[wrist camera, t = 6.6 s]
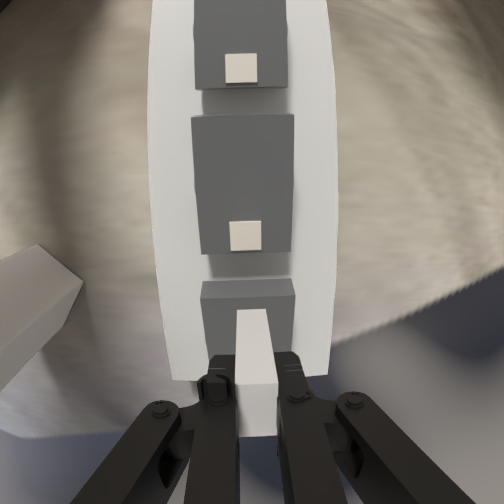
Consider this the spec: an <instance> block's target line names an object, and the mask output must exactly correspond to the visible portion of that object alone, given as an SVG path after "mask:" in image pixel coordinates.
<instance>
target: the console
mask: <svg viewBox="0 0 504 504" xmlns="http://www.w3.org/2000/svg"><path fill="white" fill-rule="evenodd" d="M286 17H287V24H288V36H287V52H288V87H287V88H284V89H279V88H252V89H221V90H204V91H198V90H195V68H194V40H193V23H194V0H153V6H152V17H151V30H150V45H149V65H148V107H147V124H148V168H149V190H150V207H151V221H152V233H153V245H154V255H155V265H156V274H157V283H158V291H159V299H160V306H161V313H162V320H163V327H164V334H165V340H166V346H167V352H168V358H169V364H170V369H171V375H172V380H182V381H198V380H199V378H201V377H202V376H203V375H206V374H207V372H208V365H209V359H208V352H207V346H206V343H205V332H204V325H203V318H202V311H201V304H200V294H201V288H202V282H203V281H226V280H256V279H282V278H291V279H292V283H293V287H294V291H295V294H296V298H295V311H294V324H293V339H292V347H291V351H293V352H294V353H296V354H297V355H298V356H299V358H300V361H301V365H302V368H303V371H304V374H305V377H306V376H317V375H327V373H328V364H329V355H330V345H331V334H332V322H333V309H334V296H335V286H336V268H337V263H336V256H337V228H338V153H337V121H336V101H335V95H336V91H335V77H334V64H333V58H332V47H331V37H330V28H329V19H328V11H327V3H326V0H286ZM227 113H291V114H294V189H293V211H292V238H291V252H269V253H239V254H209V255H201V247H200V237H199V226H198V215H197V204H196V194H195V190H194V164H193V149H192V132H191V117H193V116H195V115H207V114H227Z"/></svg>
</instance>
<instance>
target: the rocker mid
mask: <svg viewBox="0 0 504 504" xmlns="http://www.w3.org/2000/svg"><path fill="white" fill-rule="evenodd" d="M191 132H192V149H193V164H194V190H195V194H196V204H197V215H198V226H199V237H200V247H201V255H209V254H239V253H269V252H291V238H292V211H293V189H294V114H291V113H227V114H207V115H195V116H193V117H191Z"/></svg>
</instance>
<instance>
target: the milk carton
mask: <svg viewBox="0 0 504 504" xmlns="http://www.w3.org/2000/svg"><path fill="white" fill-rule="evenodd" d="M82 284H83V281H82V280H81V279H80V278H78V277H77V276H76V275H75V274H73V273H72V272H71V271H70V270H68V269H67V268H66V267H65V266H63V265H62V264H61V263H60V262H58V261H57V260H56V259H55V258H54V257H52V256H51V255H50V254H49V253H48V252H46V251H45V250H44V249H43V248H42V247H41V246H39V245H38V244H36V245H34V246H31V247H29V248H27V249H24V250H22V251H20V252H18V253H15V254H13V255H11V256H9V257H6V258H4V259H2V260H0V391H1V390H2V389H3V388H4V387H5V386H6V385H7V384H8V383H9V382H10V381H11V379H12V378H13V377H14V376H15V375H16V374H17V373H18V372H19V371H20V370H21V369H22V368H23V367H24V366H25V364H26V363H27V362H28V361H29V360H30V359H31V358H32V357H33V356H34V355H35V354H36V353H37V352H38V351H39V350H40V349H41V348H42V347H43V346H44V345H45V344H46V343H47V342H48V341H49V340H50V339H51V338H52V337H53V336H54V335H55V334H56V333H57V332H58V331H59V330H60V329H61V328H62V327H63V325H64V323H65V321H66V319H67V317H68V314H69V312H70V310H71V308H72V306H73V303H74V301H75V299H76V297H77V295H78V293H79V291H80V289H81V287H82Z"/></svg>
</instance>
